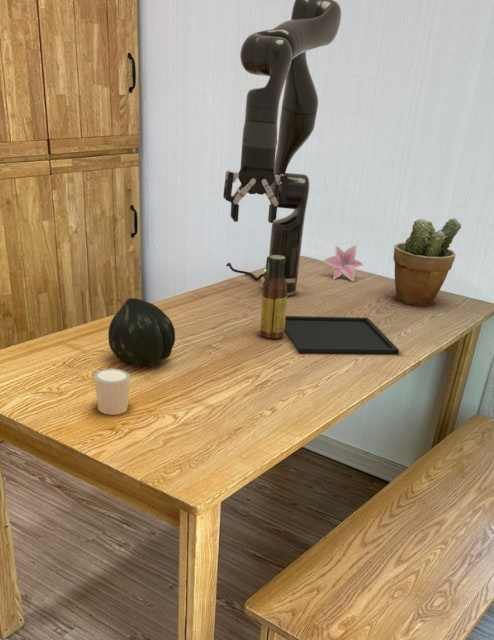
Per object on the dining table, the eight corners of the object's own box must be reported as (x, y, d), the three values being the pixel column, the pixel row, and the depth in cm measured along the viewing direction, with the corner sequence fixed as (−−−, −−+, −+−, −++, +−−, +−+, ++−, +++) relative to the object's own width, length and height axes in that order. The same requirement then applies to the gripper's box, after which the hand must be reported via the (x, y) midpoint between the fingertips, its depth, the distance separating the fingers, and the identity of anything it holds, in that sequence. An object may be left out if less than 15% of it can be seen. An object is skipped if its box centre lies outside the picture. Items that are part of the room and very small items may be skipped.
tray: (299, 353, 171) (300, 348, 170) (277, 319, 190) (278, 315, 190) (398, 354, 177) (399, 349, 176) (367, 321, 196) (367, 317, 195)
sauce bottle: (284, 332, 182) (293, 255, 171) (282, 341, 177) (292, 261, 166) (259, 329, 182) (267, 252, 172) (257, 338, 177) (264, 258, 166)
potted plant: (408, 312, 207) (427, 224, 194) (372, 292, 220) (387, 209, 207) (455, 308, 215) (476, 223, 201) (418, 289, 228) (435, 209, 215)
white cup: (96, 399, 139) (95, 367, 135) (131, 401, 140) (131, 368, 136) (92, 415, 134) (91, 381, 130) (129, 416, 134) (128, 383, 131)
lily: (316, 277, 234) (323, 255, 225) (333, 257, 239) (340, 236, 231) (346, 295, 232) (354, 274, 224) (362, 275, 238) (371, 254, 229)
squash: (196, 335, 159) (156, 279, 155) (168, 359, 147) (124, 299, 143) (154, 364, 167) (115, 311, 163) (124, 389, 155) (81, 332, 151)
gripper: (285, 144, 158) (277, 219, 166) (223, 139, 154) (219, 217, 163) (295, 148, 152) (286, 226, 160) (231, 144, 148) (226, 224, 157)
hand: (252, 221), depth 161 cm, fingers open, 8 cm apart
